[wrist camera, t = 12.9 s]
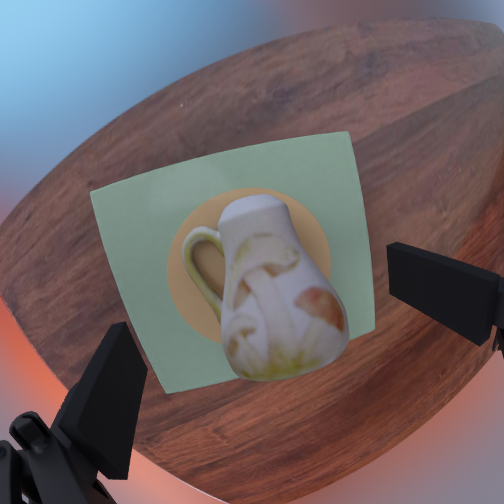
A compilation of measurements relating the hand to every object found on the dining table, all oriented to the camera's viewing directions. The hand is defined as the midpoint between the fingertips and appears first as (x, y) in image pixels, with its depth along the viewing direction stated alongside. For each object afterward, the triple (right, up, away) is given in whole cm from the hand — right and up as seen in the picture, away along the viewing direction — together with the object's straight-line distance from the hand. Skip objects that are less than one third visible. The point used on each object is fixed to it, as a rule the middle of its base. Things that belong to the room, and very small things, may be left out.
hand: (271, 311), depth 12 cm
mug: (-1, +1, +6) cm, 6 cm away
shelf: (-2, +3, +13) cm, 13 cm away
